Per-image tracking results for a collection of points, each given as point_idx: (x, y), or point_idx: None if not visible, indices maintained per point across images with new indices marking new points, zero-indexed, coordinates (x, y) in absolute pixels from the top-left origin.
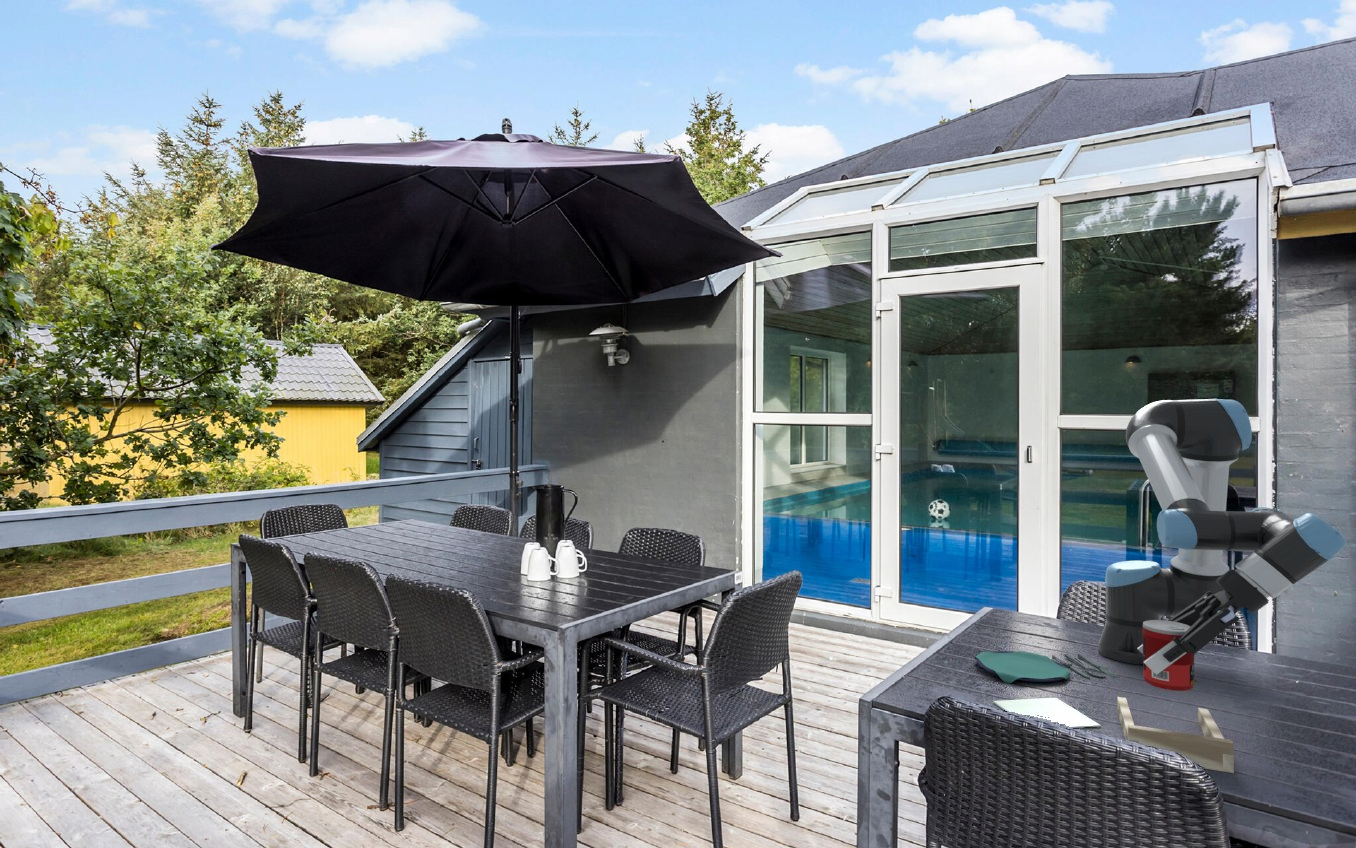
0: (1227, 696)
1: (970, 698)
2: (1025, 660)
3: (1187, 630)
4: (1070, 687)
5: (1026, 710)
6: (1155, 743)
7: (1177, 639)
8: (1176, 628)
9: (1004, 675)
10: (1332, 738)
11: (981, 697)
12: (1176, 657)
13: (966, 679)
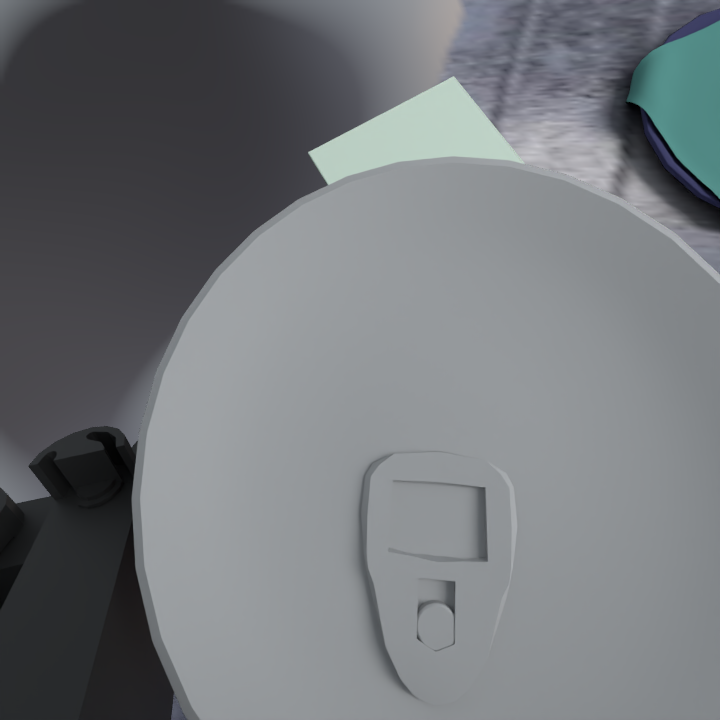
0: None
1: (461, 39)
2: None
3: (57, 705)
4: (685, 239)
5: (421, 139)
6: None
7: (50, 477)
8: (401, 571)
9: (642, 72)
10: None
11: (479, 57)
12: None
13: (599, 18)
